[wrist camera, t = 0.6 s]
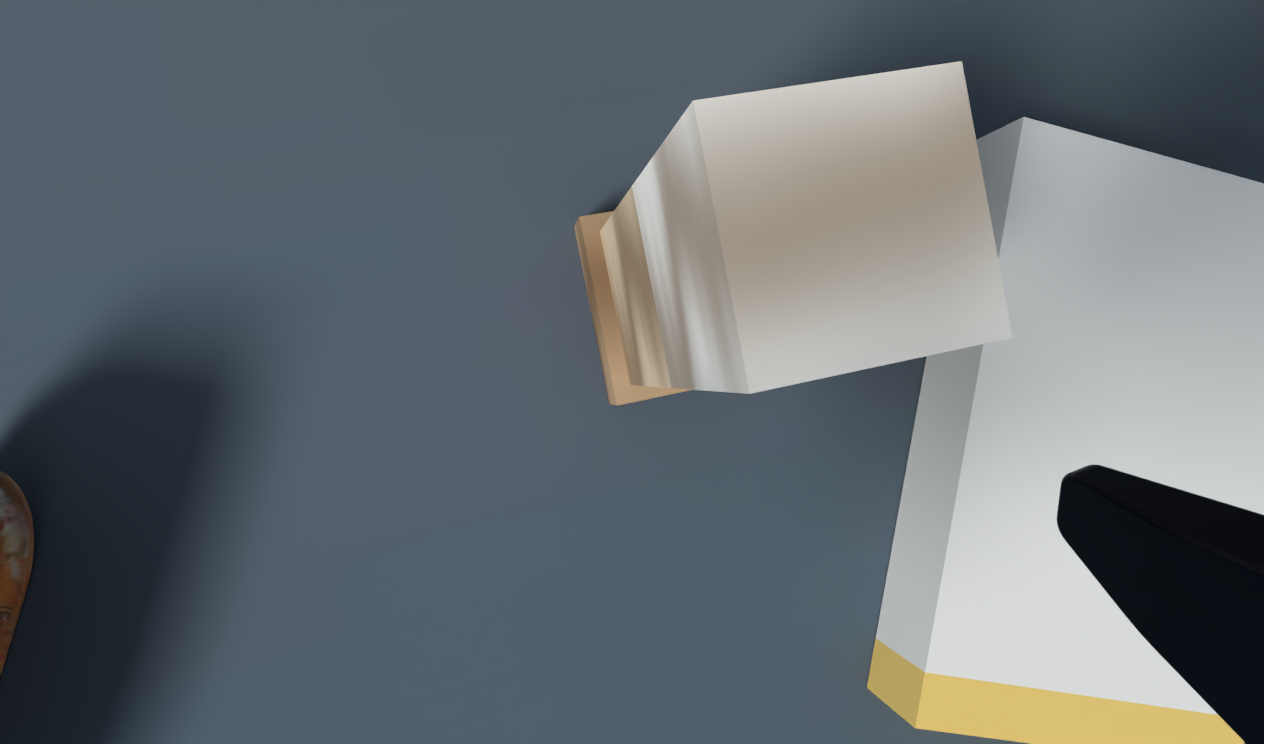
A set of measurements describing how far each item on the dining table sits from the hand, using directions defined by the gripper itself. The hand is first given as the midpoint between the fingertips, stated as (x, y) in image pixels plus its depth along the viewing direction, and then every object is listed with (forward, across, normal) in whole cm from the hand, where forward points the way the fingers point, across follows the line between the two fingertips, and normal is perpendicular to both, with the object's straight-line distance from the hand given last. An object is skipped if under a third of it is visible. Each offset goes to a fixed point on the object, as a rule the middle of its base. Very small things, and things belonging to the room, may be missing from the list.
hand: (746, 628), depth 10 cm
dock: (+11, -15, +11) cm, 22 cm away
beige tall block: (+15, -4, +4) cm, 16 cm away
